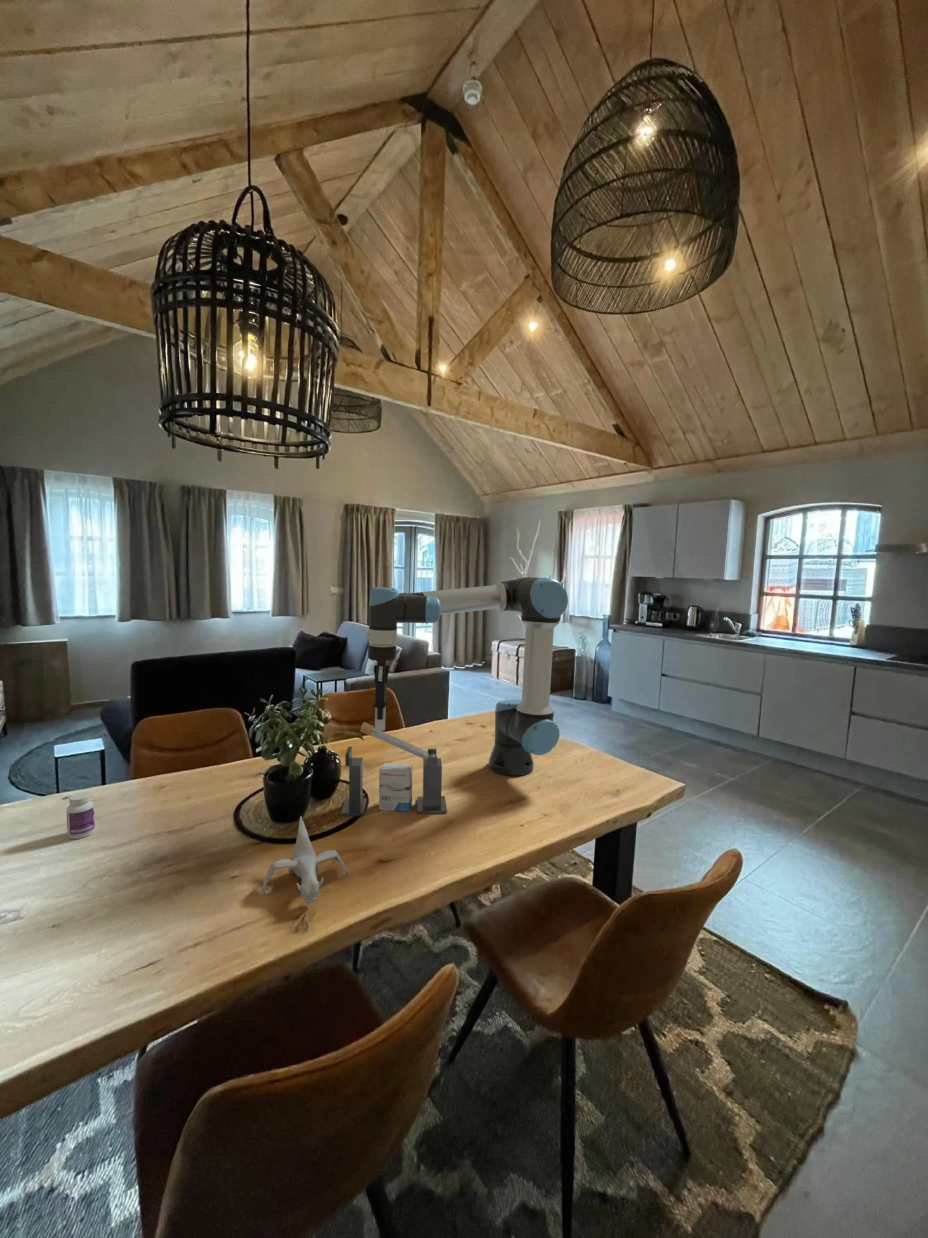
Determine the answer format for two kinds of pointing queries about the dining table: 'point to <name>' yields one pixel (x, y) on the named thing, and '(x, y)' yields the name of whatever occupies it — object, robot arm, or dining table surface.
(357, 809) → the post
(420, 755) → the white gate latch bar
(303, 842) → the dragon figurine
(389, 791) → the ink box
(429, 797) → the hinge post
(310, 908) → the dining table surface
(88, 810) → the pill bottle
